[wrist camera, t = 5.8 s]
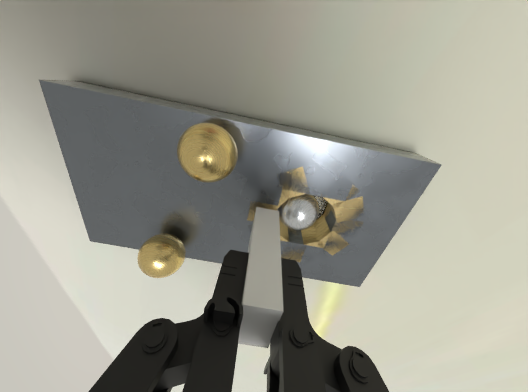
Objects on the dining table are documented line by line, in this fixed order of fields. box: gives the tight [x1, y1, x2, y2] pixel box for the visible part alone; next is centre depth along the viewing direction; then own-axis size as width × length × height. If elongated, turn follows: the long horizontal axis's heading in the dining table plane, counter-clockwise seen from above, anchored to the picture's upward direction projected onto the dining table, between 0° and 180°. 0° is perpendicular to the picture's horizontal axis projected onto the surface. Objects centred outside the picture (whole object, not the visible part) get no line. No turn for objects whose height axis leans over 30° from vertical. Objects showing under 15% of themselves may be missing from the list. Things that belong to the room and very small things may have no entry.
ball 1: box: [138, 234, 186, 278], centre depth 15 cm, size 3×3×3 cm
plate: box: [39, 80, 441, 287], centre depth 15 cm, size 24×12×2 cm, turn 79°
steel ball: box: [277, 194, 319, 230], centre depth 15 cm, size 3×3×3 cm
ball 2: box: [177, 123, 238, 183], centre depth 11 cm, size 3×3×3 cm
